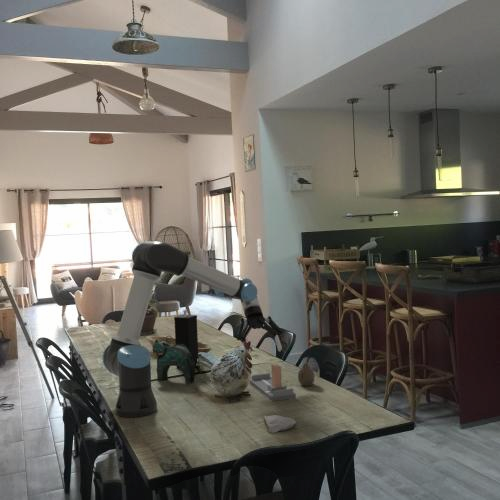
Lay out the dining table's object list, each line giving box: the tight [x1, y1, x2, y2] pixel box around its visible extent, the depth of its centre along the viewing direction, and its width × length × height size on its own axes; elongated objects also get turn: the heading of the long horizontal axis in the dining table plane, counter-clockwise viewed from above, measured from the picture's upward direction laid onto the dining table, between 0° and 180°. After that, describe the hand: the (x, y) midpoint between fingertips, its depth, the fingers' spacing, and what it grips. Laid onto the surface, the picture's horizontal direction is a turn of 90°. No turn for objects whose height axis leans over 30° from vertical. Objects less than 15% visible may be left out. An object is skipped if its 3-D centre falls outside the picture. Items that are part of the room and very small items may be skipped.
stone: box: [263, 414, 297, 434], centre depth 185 cm, size 10×12×4 cm
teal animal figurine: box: [152, 335, 196, 384], centre depth 242 cm, size 20×6×20 cm, turn 62°
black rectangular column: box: [173, 309, 199, 370], centre depth 264 cm, size 8×8×28 cm
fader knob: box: [268, 363, 287, 392], centre depth 218 cm, size 5×6×10 cm
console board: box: [249, 372, 297, 402], centre depth 224 cm, size 26×10×4 cm, turn 19°
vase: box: [297, 363, 316, 387], centre depth 229 cm, size 7×7×9 cm
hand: (265, 351), depth 228 cm, fingers open, 13 cm apart
